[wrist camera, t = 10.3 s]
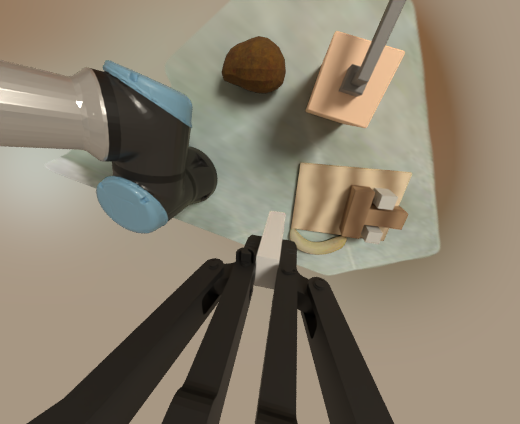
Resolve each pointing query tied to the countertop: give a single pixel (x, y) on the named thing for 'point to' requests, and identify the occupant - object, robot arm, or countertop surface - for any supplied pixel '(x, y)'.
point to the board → (337, 193)
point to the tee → (367, 213)
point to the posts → (381, 201)
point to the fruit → (317, 244)
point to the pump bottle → (356, 73)
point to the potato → (255, 65)
